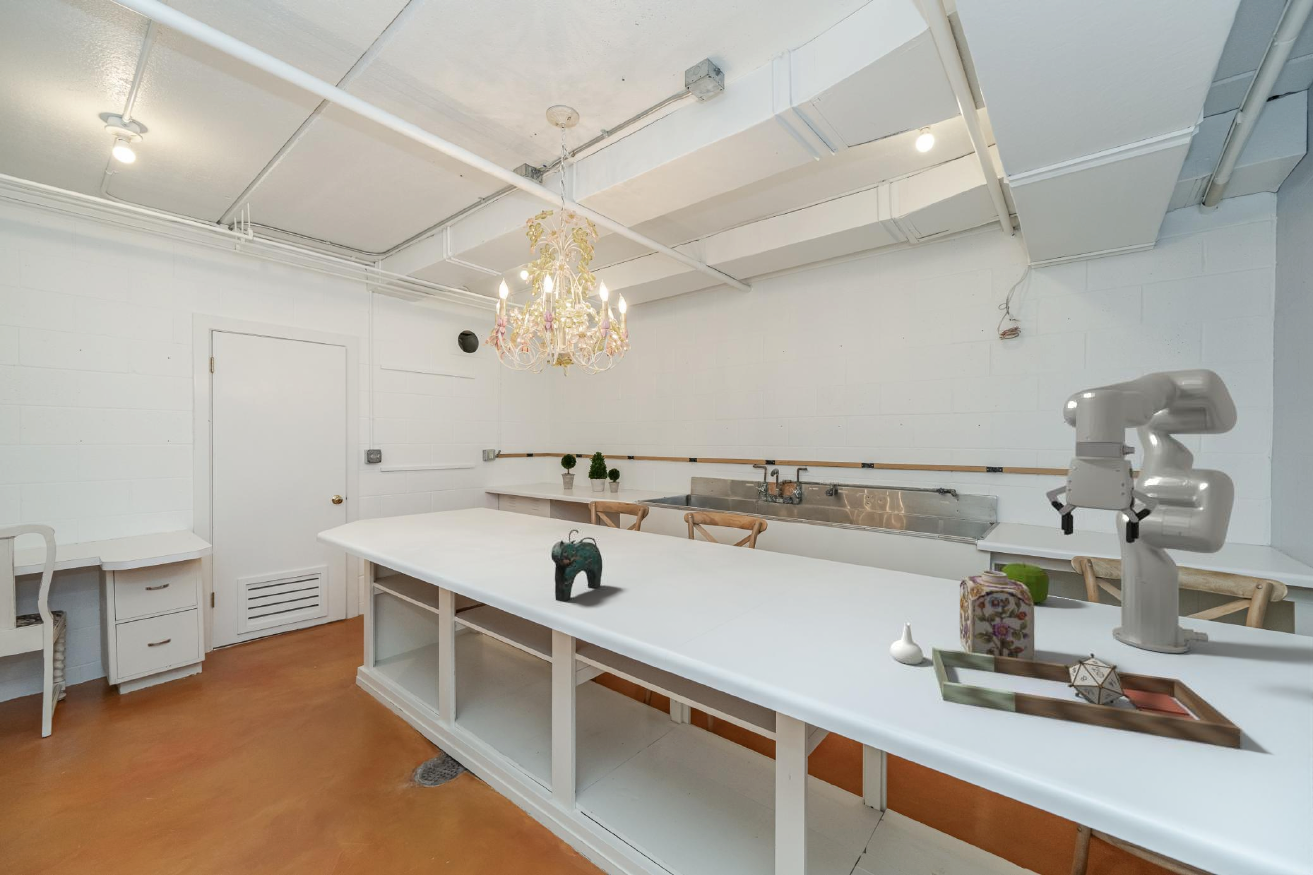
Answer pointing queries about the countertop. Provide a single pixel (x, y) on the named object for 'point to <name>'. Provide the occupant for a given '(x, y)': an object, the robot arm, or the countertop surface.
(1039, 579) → the apple
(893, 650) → the garlic bulb
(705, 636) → the countertop surface
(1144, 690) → the rectangular wooden frame
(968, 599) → the decorative jar
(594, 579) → the teal animal figurine
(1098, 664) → the game die
